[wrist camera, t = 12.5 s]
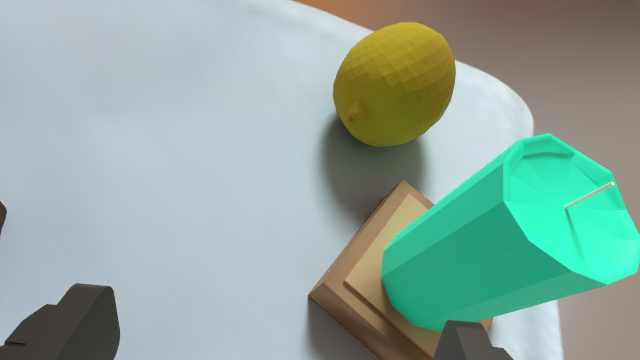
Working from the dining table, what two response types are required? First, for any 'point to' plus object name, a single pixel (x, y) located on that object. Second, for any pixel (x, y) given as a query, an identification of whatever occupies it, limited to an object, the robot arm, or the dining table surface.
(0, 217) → the box
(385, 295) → the stand
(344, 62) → the lemon
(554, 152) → the candle
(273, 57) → the dining table surface
